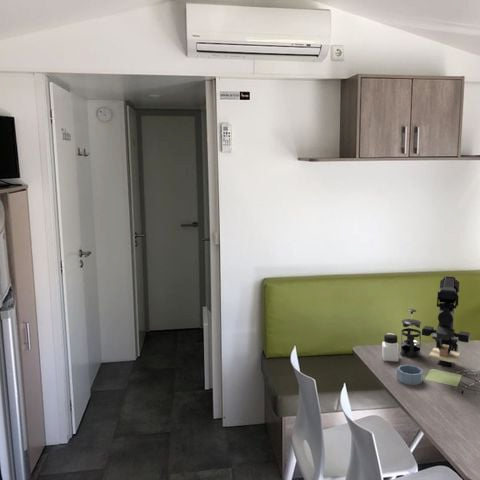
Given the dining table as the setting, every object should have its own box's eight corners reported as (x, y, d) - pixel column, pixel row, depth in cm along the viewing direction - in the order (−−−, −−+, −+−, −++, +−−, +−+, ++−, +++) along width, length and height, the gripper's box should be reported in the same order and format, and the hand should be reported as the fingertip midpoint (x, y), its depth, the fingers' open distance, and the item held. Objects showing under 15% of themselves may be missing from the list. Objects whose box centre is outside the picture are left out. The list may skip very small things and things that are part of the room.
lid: (433, 349, 214) (434, 341, 213) (460, 354, 208) (460, 345, 207) (428, 357, 204) (428, 349, 204) (456, 363, 198) (456, 354, 198)
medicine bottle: (398, 361, 226) (399, 337, 224) (383, 360, 227) (383, 337, 225) (397, 356, 233) (397, 332, 231) (381, 355, 234) (382, 331, 232)
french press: (422, 359, 228) (423, 313, 224) (401, 358, 230) (403, 312, 226) (418, 350, 239) (420, 306, 236) (398, 349, 241) (400, 305, 238)
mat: (431, 369, 216) (431, 368, 216) (462, 375, 209) (462, 374, 209) (424, 380, 206) (424, 379, 206) (457, 387, 199) (457, 386, 199)
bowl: (401, 373, 213) (401, 363, 212) (424, 378, 207) (424, 367, 206) (394, 382, 204) (395, 371, 204) (419, 387, 199) (419, 376, 198)
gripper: (419, 319, 202) (418, 354, 204) (467, 327, 192) (465, 363, 194) (425, 313, 211) (423, 346, 213) (471, 319, 201) (469, 354, 203)
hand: (444, 352), depth 206 cm, fingers closed on lid, 3 cm apart
